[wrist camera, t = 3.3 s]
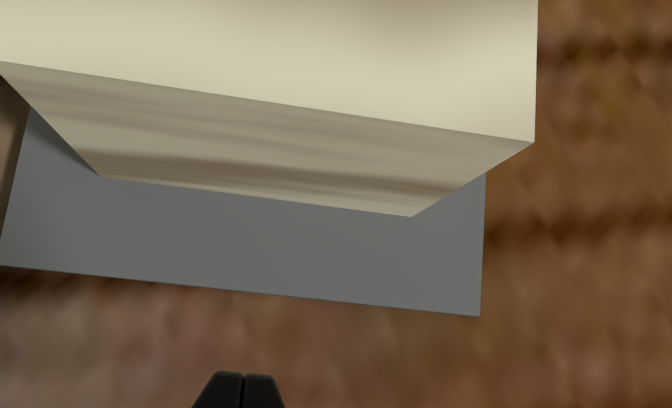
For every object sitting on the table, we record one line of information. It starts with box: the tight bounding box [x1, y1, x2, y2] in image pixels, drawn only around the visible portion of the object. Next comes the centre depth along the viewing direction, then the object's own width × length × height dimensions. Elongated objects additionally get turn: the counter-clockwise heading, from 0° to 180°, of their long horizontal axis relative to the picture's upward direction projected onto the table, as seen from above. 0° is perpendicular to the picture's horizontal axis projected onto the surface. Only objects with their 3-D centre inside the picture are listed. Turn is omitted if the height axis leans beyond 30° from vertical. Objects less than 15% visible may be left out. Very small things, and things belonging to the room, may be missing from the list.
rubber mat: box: [0, 105, 486, 316], centre depth 24 cm, size 22×18×1 cm
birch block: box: [0, 0, 538, 217], centre depth 18 cm, size 5×12×10 cm, turn 84°
